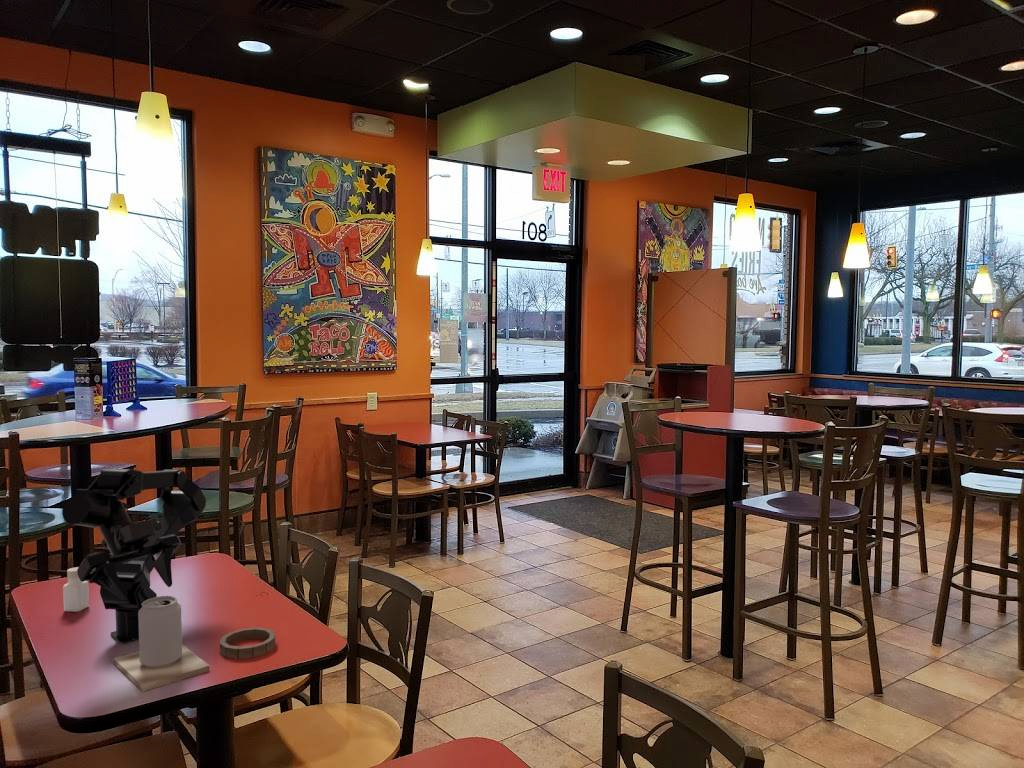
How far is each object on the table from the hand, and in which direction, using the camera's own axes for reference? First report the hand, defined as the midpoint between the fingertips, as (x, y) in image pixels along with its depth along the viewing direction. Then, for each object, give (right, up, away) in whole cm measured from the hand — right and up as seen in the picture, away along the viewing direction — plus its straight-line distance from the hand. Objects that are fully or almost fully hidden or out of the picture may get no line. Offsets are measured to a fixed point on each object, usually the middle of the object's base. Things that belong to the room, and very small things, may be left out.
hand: (148, 592), depth 146 cm
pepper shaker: (-30, -12, +28) cm, 43 cm away
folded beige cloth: (+3, -14, -2) cm, 14 cm away
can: (+3, -13, -2) cm, 13 cm away
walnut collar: (+17, -13, +7) cm, 23 cm away
